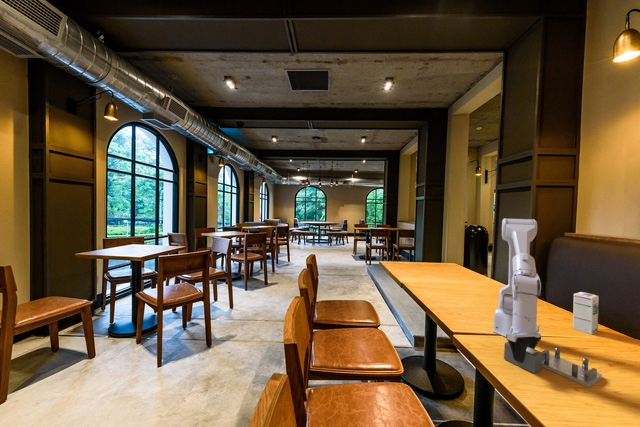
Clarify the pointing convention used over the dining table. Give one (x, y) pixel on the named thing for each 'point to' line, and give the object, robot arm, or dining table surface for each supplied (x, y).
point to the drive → (525, 358)
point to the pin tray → (570, 368)
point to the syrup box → (585, 312)
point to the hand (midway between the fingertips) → (522, 358)
